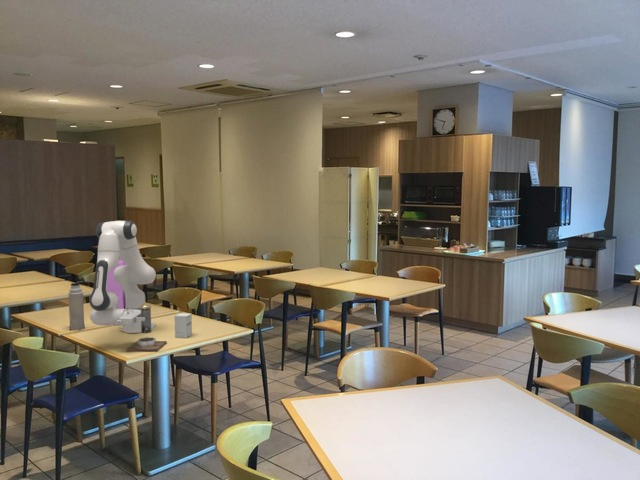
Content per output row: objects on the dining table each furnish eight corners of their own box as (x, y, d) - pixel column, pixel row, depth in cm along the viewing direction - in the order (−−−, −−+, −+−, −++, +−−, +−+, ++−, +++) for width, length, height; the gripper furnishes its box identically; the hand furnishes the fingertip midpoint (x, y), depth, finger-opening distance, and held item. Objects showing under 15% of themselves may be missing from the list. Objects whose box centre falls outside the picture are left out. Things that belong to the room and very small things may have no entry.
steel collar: (141, 342, 295) (141, 337, 294) (157, 342, 294) (157, 337, 294) (135, 347, 286) (135, 341, 286) (152, 347, 286) (152, 341, 285)
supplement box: (186, 338, 308) (186, 316, 307) (174, 337, 310) (174, 315, 309) (192, 334, 315) (191, 313, 314) (180, 334, 317) (180, 312, 316)
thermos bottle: (77, 327, 335) (76, 281, 332) (87, 328, 331) (85, 282, 329) (67, 330, 327) (64, 283, 325) (76, 331, 324) (74, 284, 322)
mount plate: (137, 343, 299) (137, 340, 298) (166, 343, 298) (166, 341, 298) (126, 351, 283) (126, 349, 282) (156, 351, 282) (156, 349, 282)
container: (118, 307, 392) (116, 258, 389) (134, 308, 389) (133, 259, 386) (105, 311, 379) (103, 261, 376) (123, 312, 375) (121, 261, 372)
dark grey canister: (143, 330, 292) (142, 304, 291) (153, 330, 292) (152, 304, 291) (139, 333, 287) (138, 306, 285) (149, 333, 286) (148, 306, 285)
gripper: (113, 315, 279) (140, 315, 278) (129, 307, 299) (153, 307, 298) (113, 327, 279) (140, 328, 279) (129, 318, 299) (154, 319, 299)
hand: (147, 317), depth 289 cm, fingers closed on dark grey canister, 5 cm apart
